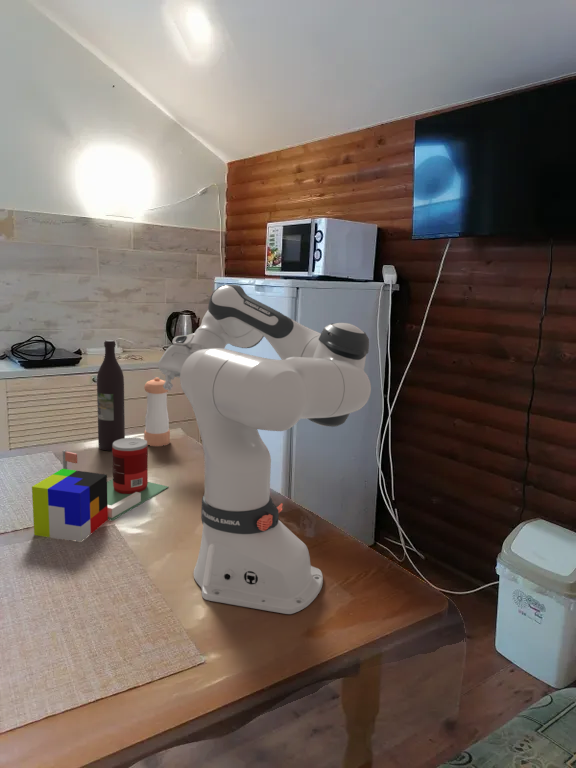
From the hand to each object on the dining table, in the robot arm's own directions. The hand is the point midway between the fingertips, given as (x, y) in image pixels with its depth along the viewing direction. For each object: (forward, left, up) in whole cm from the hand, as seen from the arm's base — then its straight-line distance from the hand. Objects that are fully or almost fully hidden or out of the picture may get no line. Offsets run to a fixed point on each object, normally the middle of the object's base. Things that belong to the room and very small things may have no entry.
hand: (181, 392), depth 150 cm
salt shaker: (+16, -12, -20) cm, 28 cm away
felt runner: (+1, +24, -20) cm, 31 cm away
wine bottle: (+24, -2, -20) cm, 31 cm away
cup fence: (+1, +28, -20) cm, 34 cm away
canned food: (+1, +19, -20) cm, 27 cm away
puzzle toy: (-1, +40, -20) cm, 44 cm away
